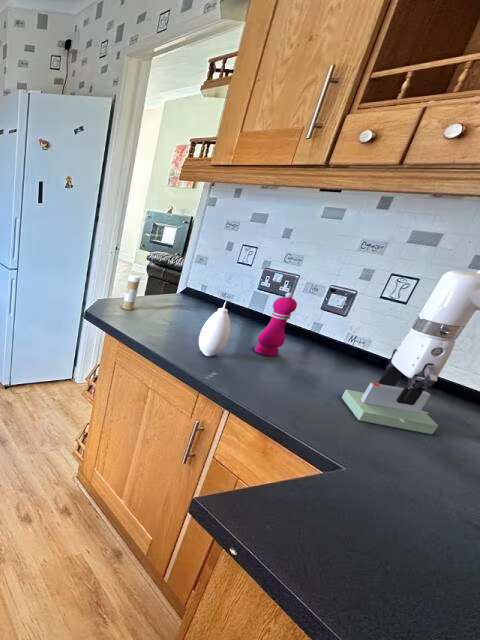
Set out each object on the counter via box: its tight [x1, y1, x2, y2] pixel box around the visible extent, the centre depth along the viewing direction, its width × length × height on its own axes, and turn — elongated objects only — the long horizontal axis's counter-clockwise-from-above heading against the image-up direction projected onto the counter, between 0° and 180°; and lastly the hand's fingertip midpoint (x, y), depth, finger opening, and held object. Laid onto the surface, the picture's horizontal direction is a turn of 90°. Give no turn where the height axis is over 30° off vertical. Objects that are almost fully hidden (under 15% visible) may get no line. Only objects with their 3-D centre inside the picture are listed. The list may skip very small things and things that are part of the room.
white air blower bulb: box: [198, 300, 231, 357], centre depth 128 cm, size 8×8×18 cm
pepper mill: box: [254, 291, 298, 357], centre depth 131 cm, size 7×7×20 cm
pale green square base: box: [341, 389, 439, 435], centre depth 103 cm, size 15×15×3 cm
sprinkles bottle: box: [122, 274, 142, 310], centre depth 169 cm, size 5×5×14 cm
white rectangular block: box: [361, 381, 432, 413], centre depth 101 cm, size 11×2×5 cm, turn 68°
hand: (394, 393), depth 100 cm, fingers open, 9 cm apart
